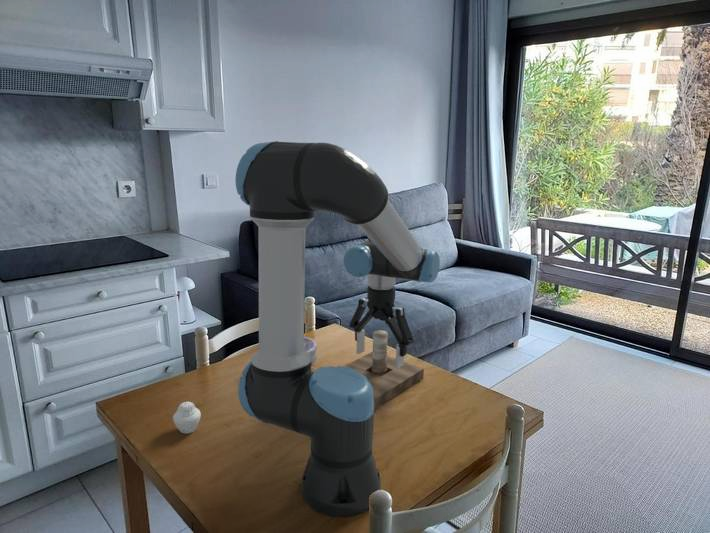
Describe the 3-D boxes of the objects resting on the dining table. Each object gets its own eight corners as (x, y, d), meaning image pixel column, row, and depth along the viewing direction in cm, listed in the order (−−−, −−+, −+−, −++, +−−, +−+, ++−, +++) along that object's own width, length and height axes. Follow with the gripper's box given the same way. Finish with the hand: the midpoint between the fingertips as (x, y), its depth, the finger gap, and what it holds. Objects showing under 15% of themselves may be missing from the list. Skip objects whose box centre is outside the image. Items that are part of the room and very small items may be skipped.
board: (371, 411, 123) (371, 400, 123) (318, 388, 134) (318, 378, 134) (423, 378, 141) (423, 368, 141) (373, 360, 152) (373, 351, 152)
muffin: (186, 440, 111) (184, 412, 109) (168, 432, 114) (165, 404, 112) (207, 427, 116) (205, 400, 114) (189, 419, 119) (187, 393, 117)
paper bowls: (259, 364, 149) (258, 339, 147) (307, 355, 155) (306, 331, 153) (273, 386, 136) (272, 359, 134) (325, 376, 142) (325, 350, 140)
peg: (380, 384, 137) (381, 337, 134) (368, 379, 140) (369, 333, 136) (389, 379, 140) (391, 332, 137) (377, 374, 143) (378, 329, 140)
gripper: (428, 292, 128) (424, 367, 134) (354, 275, 144) (353, 343, 149) (412, 298, 123) (409, 377, 128) (337, 280, 138) (337, 351, 144)
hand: (379, 359), depth 139 cm, fingers open, 13 cm apart
